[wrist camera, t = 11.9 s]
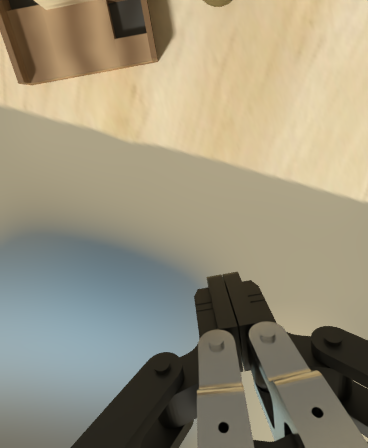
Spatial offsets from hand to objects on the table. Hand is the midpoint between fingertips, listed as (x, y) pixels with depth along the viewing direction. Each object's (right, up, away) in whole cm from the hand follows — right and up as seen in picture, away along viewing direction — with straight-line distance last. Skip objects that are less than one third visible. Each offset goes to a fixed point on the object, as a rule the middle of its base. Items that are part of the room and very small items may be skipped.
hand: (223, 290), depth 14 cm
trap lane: (-16, +31, +24) cm, 42 cm away
